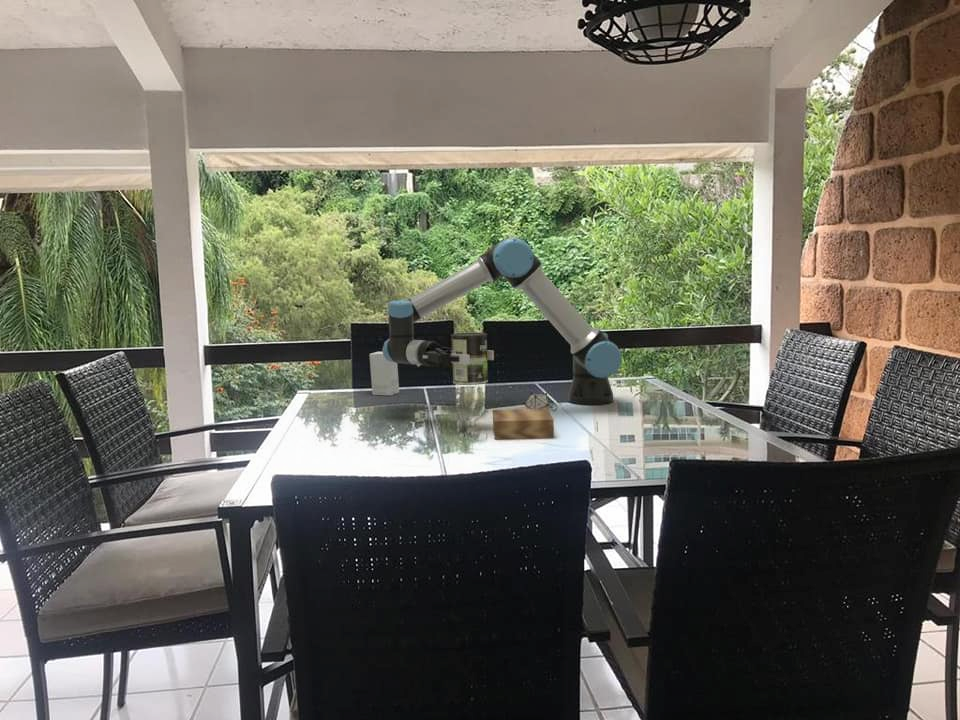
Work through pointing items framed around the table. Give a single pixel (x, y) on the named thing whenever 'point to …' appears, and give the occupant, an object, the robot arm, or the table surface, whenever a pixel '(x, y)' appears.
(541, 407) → the game die
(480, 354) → the coffee can
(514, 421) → the teak block
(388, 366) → the skincare box
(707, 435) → the table surface
